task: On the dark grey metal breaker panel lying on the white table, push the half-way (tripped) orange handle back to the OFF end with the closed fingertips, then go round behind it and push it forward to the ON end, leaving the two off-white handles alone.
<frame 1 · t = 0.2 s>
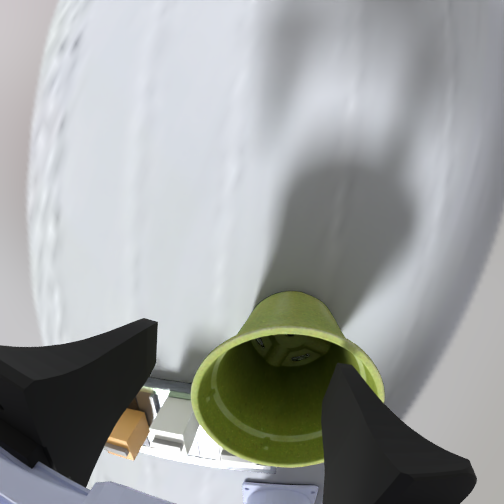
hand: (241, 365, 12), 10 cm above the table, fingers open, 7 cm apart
breaker white 1: (241, 437, 21), point 4 cm above the table, slide at 5.0 cm
breaker white 2: (175, 428, 22), point 4 cm above the table, slide at 5.0 cm
plant pot: (292, 328, 22), on the table
panel: (193, 424, 26), on the table
breaker orange: (125, 434, 23), point 4 cm above the table, slide at 2.5 cm
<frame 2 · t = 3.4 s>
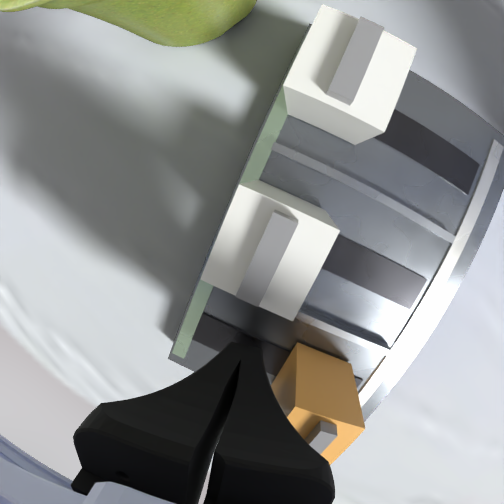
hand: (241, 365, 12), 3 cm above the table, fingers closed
breaker white 1: (344, 81, 8), point 4 cm above the table, slide at 5.0 cm
breaker white 2: (272, 240, 9), point 4 cm above the table, slide at 5.0 cm
panel: (346, 250, 13), on the table
breaker orange: (311, 409, 11), point 4 cm above the table, slide at 1.0 cm, touching gripper
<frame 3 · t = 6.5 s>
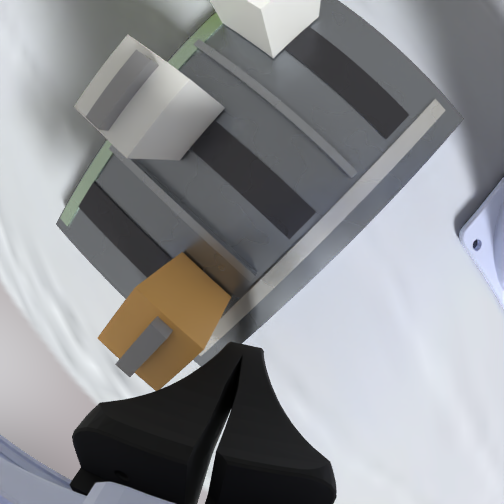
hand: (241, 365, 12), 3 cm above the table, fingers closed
breaker white 2: (152, 103, 9), point 4 cm above the table, slide at 5.0 cm
panel: (243, 162, 13), on the table
breaker orange: (166, 319, 11), point 4 cm above the table, slide at 0.0 cm, touching gripper
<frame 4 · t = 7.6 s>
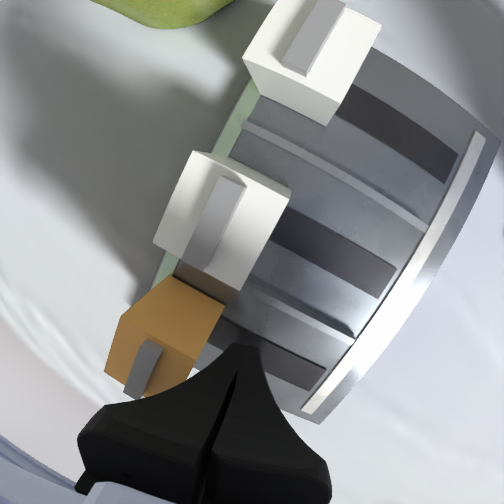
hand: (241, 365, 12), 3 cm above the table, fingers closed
breaker white 1: (311, 60, 8), point 4 cm above the table, slide at 5.0 cm
breaker white 2: (230, 212, 9), point 4 cm above the table, slide at 5.0 cm
panel: (315, 234, 13), on the table
breaker orange: (165, 341, 11), point 4 cm above the table, slide at 5.1 cm, touching gripper
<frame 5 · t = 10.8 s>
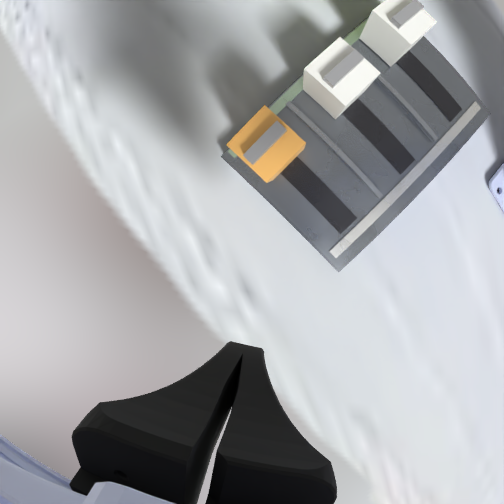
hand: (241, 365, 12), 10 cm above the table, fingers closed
breaker white 1: (397, 27, 13), point 4 cm above the table, slide at 5.0 cm
breaker white 2: (338, 79, 14), point 4 cm above the table, slide at 5.0 cm
panel: (367, 127, 18), on the table
breaker orange: (268, 146, 16), point 4 cm above the table, slide at 5.1 cm
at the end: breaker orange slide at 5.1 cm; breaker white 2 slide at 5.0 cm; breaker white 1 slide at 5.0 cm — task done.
